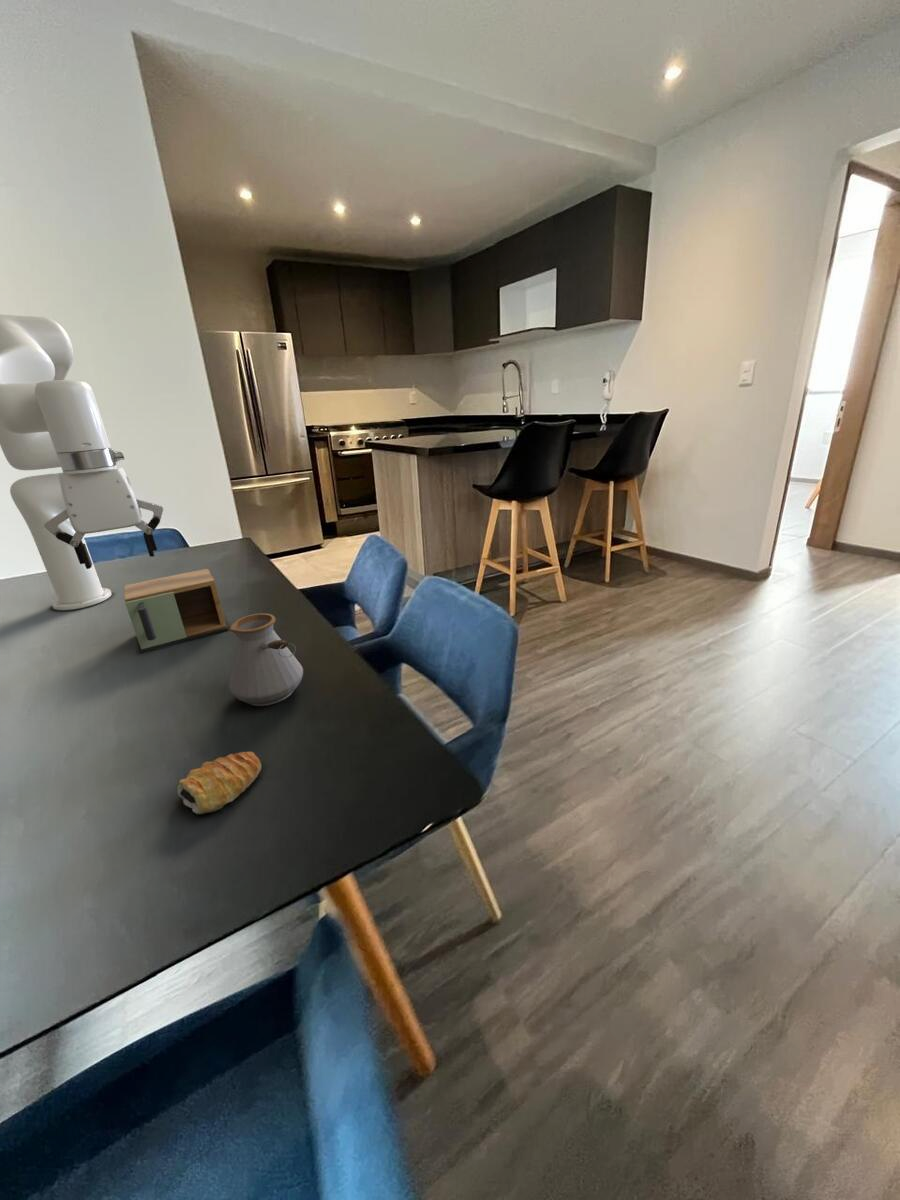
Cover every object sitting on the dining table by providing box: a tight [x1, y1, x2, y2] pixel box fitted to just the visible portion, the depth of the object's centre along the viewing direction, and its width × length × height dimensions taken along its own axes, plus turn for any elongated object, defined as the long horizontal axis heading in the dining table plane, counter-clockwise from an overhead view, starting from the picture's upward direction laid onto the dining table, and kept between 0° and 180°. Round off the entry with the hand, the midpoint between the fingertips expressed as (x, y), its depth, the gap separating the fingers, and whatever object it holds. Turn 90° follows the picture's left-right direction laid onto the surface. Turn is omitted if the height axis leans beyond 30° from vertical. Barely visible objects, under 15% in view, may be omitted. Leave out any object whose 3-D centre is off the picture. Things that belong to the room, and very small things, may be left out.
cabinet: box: [124, 568, 229, 653], centre depth 103 cm, size 11×16×11 cm
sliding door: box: [124, 592, 187, 650], centre depth 95 cm, size 5×8×10 cm, turn 122°
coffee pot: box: [228, 613, 304, 707], centre depth 74 cm, size 21×12×15 cm, turn 37°
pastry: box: [176, 751, 262, 815], centre depth 60 cm, size 9×7×4 cm
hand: (121, 560), depth 88 cm, fingers open, 9 cm apart
